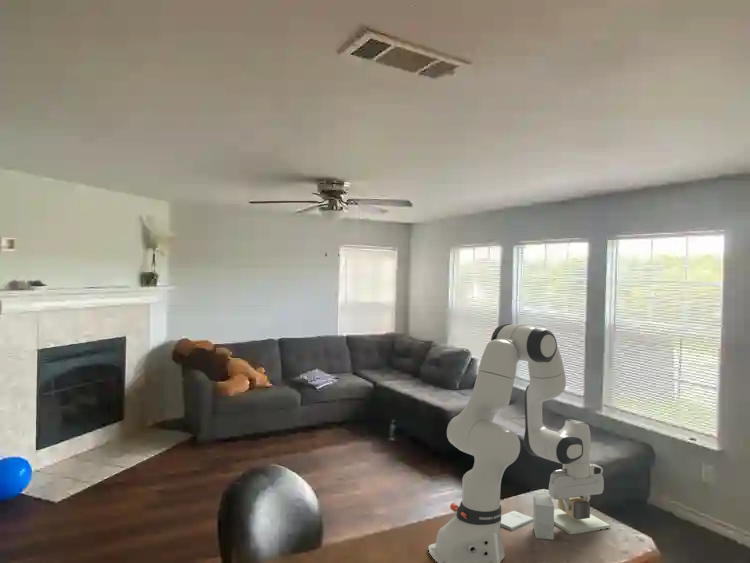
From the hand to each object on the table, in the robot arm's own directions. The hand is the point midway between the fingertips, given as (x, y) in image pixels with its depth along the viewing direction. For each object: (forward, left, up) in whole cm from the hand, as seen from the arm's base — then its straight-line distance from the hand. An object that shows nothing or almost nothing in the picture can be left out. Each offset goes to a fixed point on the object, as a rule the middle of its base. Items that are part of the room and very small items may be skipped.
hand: (575, 509), depth 182 cm
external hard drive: (-20, +7, -5) cm, 22 cm away
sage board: (0, +1, -4) cm, 5 cm away
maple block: (0, +6, +1) cm, 6 cm away
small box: (-16, -4, -5) cm, 17 cm away
